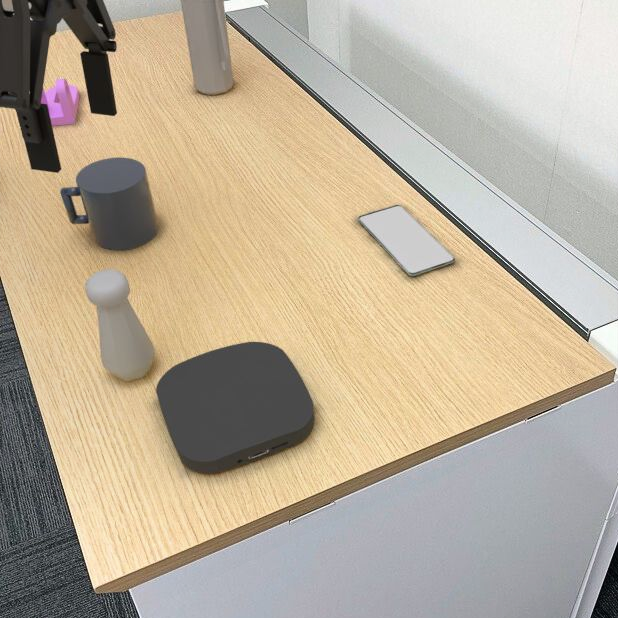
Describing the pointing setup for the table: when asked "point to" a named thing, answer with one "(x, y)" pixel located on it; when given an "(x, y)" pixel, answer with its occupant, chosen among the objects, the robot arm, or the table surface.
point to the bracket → (61, 102)
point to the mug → (114, 203)
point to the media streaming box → (234, 406)
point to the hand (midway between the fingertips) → (77, 139)
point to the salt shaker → (119, 326)
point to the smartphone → (406, 240)
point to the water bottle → (208, 45)
